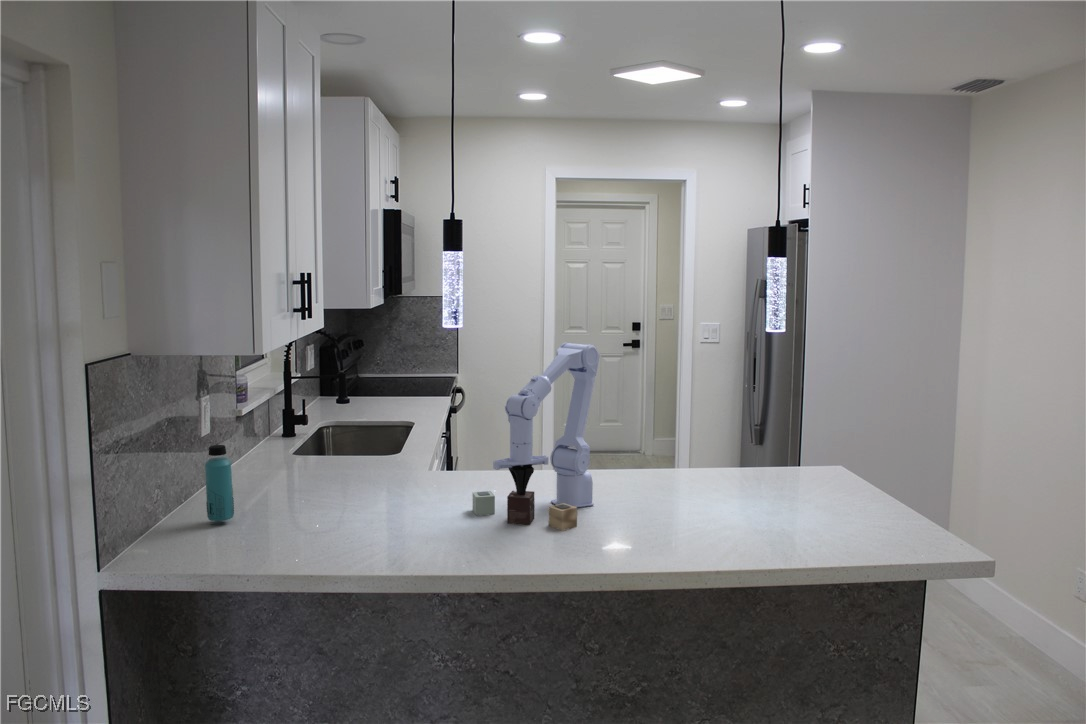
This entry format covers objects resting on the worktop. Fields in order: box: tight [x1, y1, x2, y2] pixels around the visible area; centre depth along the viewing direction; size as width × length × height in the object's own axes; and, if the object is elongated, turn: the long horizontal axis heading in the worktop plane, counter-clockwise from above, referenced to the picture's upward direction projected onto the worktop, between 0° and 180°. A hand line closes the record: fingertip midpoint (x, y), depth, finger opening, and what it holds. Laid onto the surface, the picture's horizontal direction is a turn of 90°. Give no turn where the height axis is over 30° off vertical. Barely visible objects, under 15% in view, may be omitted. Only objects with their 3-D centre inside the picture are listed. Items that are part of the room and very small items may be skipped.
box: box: [506, 490, 536, 526], centre depth 219 cm, size 6×6×7 cm
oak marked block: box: [548, 503, 578, 531], centre depth 215 cm, size 5×5×5 cm
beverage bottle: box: [204, 444, 235, 522], centre depth 215 cm, size 6×7×20 cm
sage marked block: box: [472, 490, 496, 516], centre depth 226 cm, size 5×5×5 cm
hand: (520, 494), depth 218 cm, fingers closed, pressing on box
